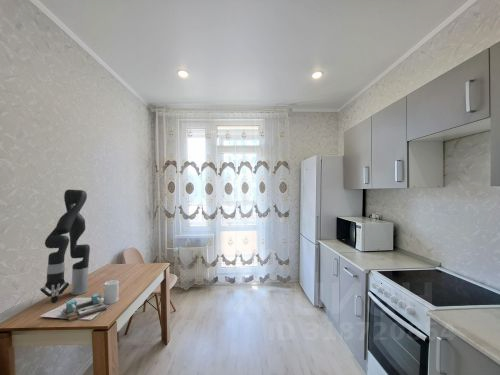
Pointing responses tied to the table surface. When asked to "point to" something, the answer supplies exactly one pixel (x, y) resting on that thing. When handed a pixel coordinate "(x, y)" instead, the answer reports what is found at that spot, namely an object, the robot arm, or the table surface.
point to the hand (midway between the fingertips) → (54, 302)
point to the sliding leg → (71, 306)
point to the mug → (111, 292)
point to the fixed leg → (96, 299)
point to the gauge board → (84, 310)
